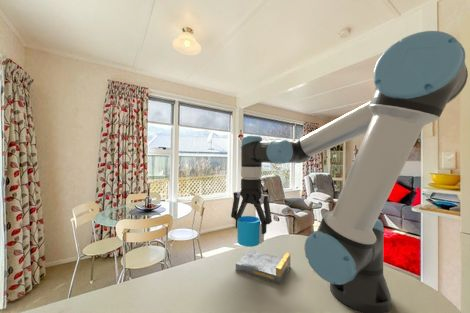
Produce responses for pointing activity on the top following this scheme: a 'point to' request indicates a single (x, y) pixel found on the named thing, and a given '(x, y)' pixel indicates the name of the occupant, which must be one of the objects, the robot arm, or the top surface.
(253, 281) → the top surface
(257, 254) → the ledge
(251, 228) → the mug
